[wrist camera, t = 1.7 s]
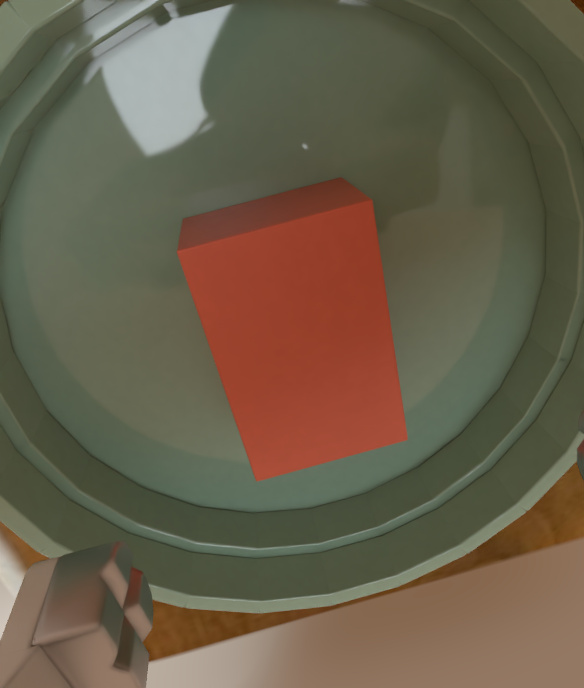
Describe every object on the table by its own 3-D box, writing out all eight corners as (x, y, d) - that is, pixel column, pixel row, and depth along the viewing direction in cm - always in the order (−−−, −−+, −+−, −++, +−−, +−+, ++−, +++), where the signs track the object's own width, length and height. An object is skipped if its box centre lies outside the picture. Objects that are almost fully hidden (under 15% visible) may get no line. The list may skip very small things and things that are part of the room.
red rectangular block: (181, 218, 14) (175, 251, 11) (342, 176, 14) (372, 198, 12) (248, 421, 17) (256, 482, 15) (378, 385, 17) (408, 440, 15)
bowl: (-189, 50, 12) (-358, 38, 8) (575, -142, 12) (724, -232, 9) (116, 570, 20) (96, 672, 17) (557, 446, 21) (629, 522, 17)
